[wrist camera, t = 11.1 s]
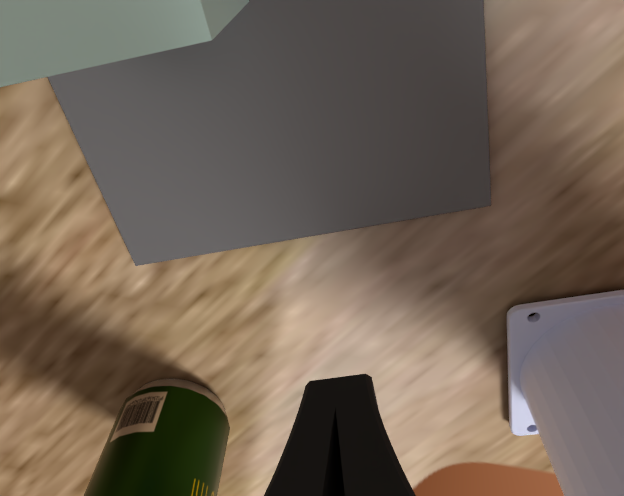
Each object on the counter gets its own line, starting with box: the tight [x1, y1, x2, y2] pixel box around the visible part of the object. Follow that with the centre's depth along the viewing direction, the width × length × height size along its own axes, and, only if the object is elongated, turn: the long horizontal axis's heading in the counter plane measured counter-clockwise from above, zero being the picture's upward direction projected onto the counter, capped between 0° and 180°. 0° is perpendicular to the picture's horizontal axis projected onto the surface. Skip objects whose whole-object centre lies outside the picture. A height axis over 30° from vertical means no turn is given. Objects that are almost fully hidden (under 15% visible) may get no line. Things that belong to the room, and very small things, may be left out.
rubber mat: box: [48, 0, 491, 266], centre depth 17 cm, size 14×14×1 cm
